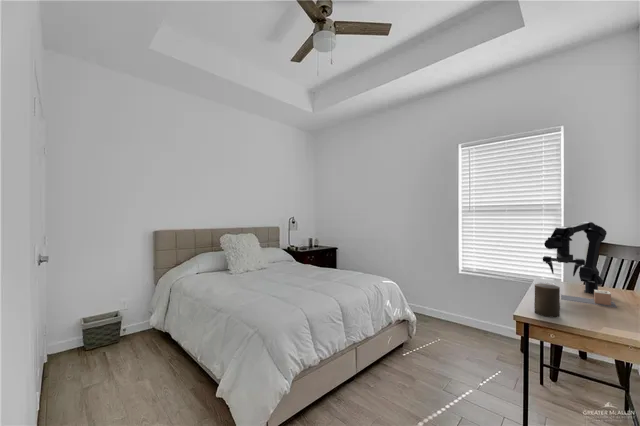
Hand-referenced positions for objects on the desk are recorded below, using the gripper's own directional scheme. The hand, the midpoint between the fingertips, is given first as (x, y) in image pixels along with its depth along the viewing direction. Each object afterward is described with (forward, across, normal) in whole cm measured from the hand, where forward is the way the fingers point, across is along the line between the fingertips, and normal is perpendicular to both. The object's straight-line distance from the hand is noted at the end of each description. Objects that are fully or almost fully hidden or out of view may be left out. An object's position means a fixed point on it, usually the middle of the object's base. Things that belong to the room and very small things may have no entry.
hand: (563, 275), depth 169 cm
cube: (+6, +16, -6) cm, 18 cm away
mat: (+12, +10, -6) cm, 17 cm away
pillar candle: (+12, -6, -43) cm, 45 cm away
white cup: (+12, -7, -21) cm, 25 cm away
